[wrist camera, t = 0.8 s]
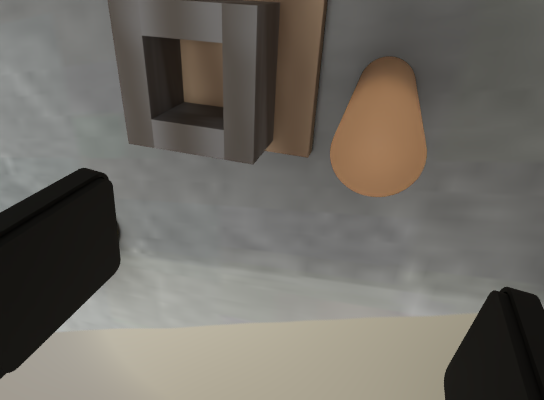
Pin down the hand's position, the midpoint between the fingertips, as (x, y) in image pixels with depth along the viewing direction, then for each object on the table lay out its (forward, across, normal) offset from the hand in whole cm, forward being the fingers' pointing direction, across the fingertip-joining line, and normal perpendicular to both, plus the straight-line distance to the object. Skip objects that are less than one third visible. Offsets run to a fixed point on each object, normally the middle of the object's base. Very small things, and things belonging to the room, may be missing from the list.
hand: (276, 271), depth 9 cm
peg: (+23, -2, 0) cm, 23 cm away
